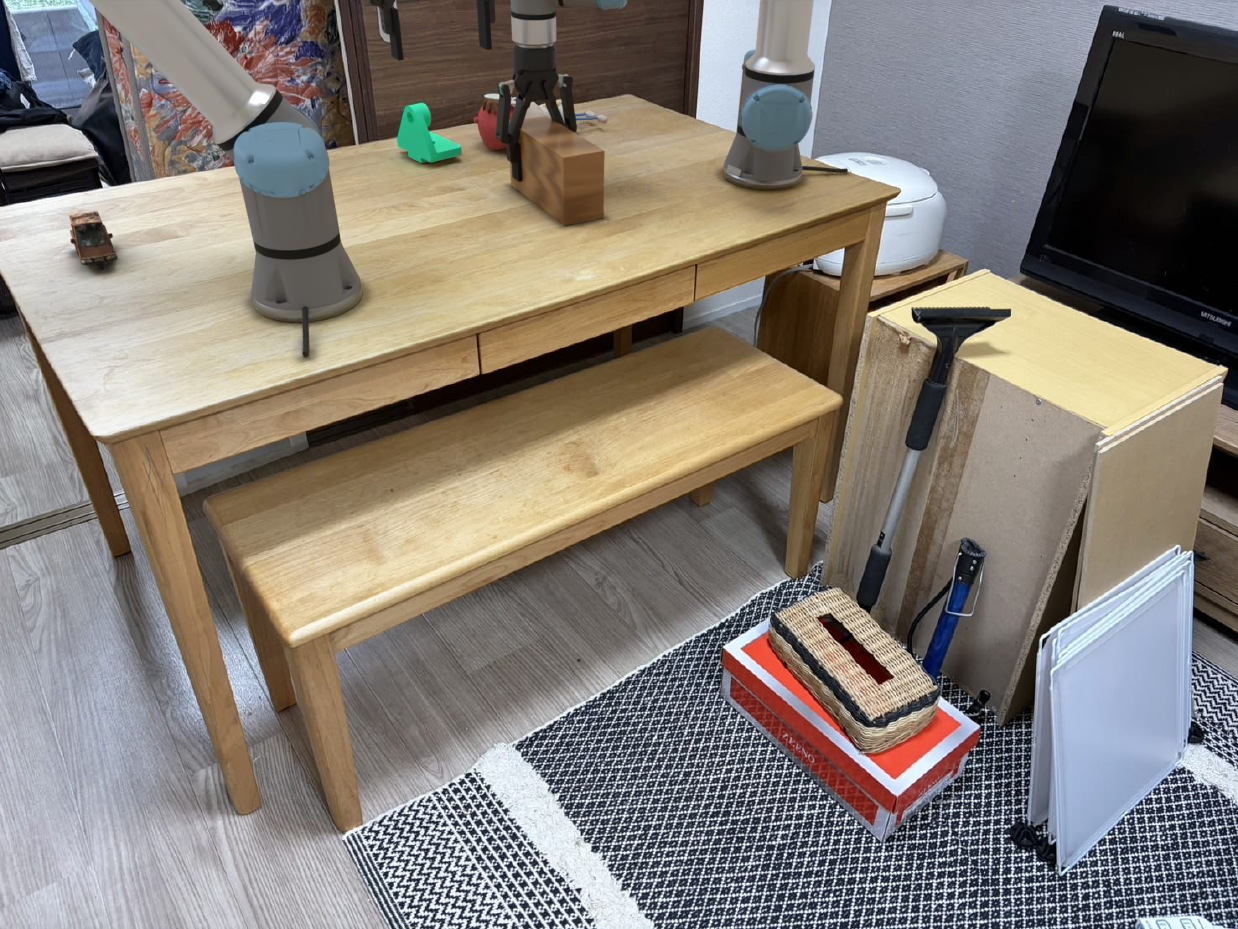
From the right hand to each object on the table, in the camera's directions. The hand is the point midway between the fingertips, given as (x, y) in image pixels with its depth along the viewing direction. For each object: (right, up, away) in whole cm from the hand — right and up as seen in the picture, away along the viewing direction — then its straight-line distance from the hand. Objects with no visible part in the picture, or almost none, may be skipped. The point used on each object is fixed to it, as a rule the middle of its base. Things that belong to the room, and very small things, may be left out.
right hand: (538, 175), depth 171 cm
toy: (-1, +16, +25) cm, 30 cm away
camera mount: (-23, +8, +14) cm, 28 cm away
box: (+3, -6, -3) cm, 7 cm away
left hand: (-11, +6, -37) cm, 39 cm away
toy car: (-66, -21, -27) cm, 75 cm away
